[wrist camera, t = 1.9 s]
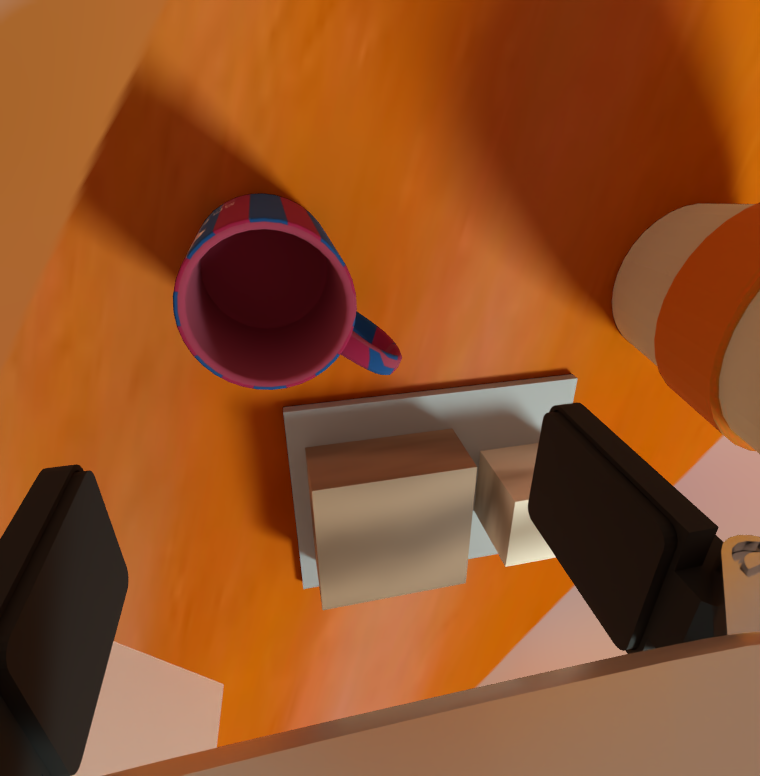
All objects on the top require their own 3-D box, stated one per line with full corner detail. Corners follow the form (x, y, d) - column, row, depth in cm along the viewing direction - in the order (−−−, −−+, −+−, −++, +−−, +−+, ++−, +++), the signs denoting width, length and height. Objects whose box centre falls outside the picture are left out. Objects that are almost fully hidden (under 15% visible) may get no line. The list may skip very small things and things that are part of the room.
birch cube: (541, 500, 36) (580, 552, 31) (474, 511, 35) (505, 566, 30) (551, 440, 33) (596, 488, 29) (480, 451, 32) (515, 502, 28)
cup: (244, 160, 23) (240, 174, 17) (407, 290, 27) (449, 337, 21) (165, 279, 24) (136, 331, 18) (331, 383, 29) (351, 451, 23)
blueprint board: (541, 539, 38) (545, 545, 38) (302, 582, 35) (303, 589, 35) (572, 374, 32) (577, 378, 31) (282, 407, 29) (283, 412, 28)
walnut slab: (444, 537, 35) (465, 583, 32) (315, 559, 34) (322, 610, 30) (452, 428, 31) (477, 467, 28) (304, 447, 29) (311, 491, 26)
